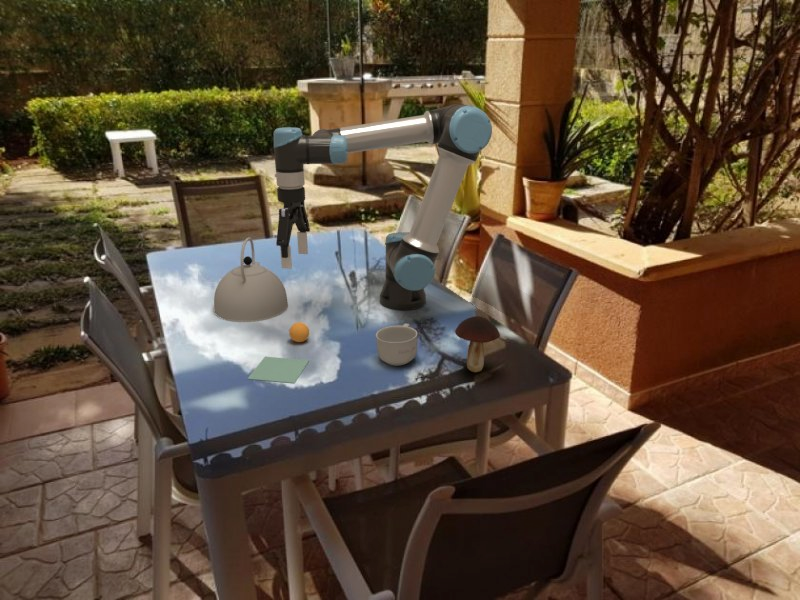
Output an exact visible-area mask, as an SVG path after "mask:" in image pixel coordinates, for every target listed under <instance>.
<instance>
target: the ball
mask: <svg viewBox="0 0 800 600" xmlns="http://www.w3.org/2000/svg"><path fill="white" fill-rule="evenodd" d="M309 336H310V329H309V327H308V325H307V324H306V323H304V322H294V324H292V325H291V326H290V328H289V338H290V339H292V341H294V342H295V343H303V342H305V341H306V340H307V339H308V338H309Z"/></svg>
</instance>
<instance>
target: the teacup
mask: <svg viewBox="0 0 800 600" xmlns="http://www.w3.org/2000/svg"><path fill="white" fill-rule="evenodd" d="M375 338H376V349H377V354H378V357H379V359H380V360H381V361H383V362H384V363H386V364H388V365H390V366H395V367H396V366H397V367H398V366H404V365H406V364H409V363H410V362H411V361H413V359H415V357H416V356H417V352H418V331H417V330H416V329H415V328H413V327H411V325H410V323H403V325H389V326H386V327H383V328H381V329H379V330H378V331H377V332H376V333H375Z"/></svg>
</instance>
